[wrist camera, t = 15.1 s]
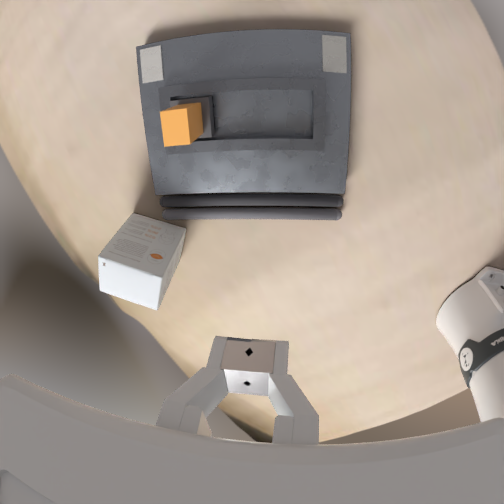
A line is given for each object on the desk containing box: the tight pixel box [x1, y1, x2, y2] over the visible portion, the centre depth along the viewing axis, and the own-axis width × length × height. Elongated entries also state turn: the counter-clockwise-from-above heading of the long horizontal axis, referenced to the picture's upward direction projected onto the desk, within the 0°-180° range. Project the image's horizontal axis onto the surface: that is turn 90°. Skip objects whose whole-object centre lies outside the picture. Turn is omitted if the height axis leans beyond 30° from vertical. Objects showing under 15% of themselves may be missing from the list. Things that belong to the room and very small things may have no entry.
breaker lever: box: [160, 96, 215, 147], centre depth 26 cm, size 4×4×6 cm
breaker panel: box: [136, 29, 351, 195], centre depth 28 cm, size 22×18×4 cm
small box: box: [98, 213, 186, 310], centre depth 36 cm, size 8×6×10 cm
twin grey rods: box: [160, 194, 343, 220], centre depth 36 cm, size 22×3×1 cm, turn 93°
